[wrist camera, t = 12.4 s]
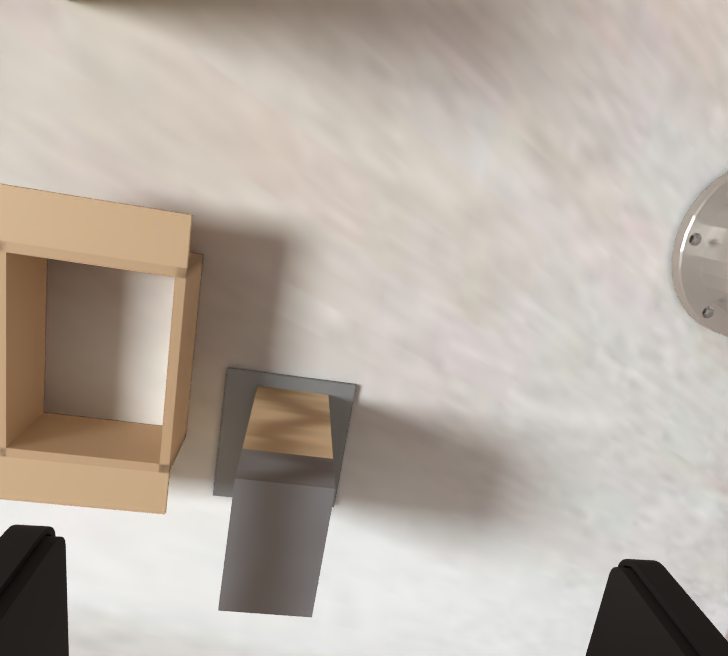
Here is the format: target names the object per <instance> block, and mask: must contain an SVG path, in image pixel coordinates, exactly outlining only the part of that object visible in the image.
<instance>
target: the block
mask: <svg viewBox="0 0 728 656" xmlns="http://www.w3.org/2000/svg"><path fill="white" fill-rule="evenodd" d="M334 493H335V479H334V465H333V451H332V437H331V423H330V410H329V396H328V394H320V393H312V392H305V391H297V390H289V389H281V388H273V387H265V386H257V390H256V394H255V398H254V403H253V407H252V411H251V415H250V419H249V423H248V427H247V431H246V436H245V440H244V444H243V448H242V452H241V456H240V460H239V464H238V469H237V473H236V477H235V483H234V491H233V499H232V507H231V515H230V522H229V530H228V538H227V546H226V554H225V561H224V569H223V577H222V585H221V593H220V601H219V608H218V610H219V611H233V612H247V613H260V614H274V615H288V616H302V617H312V613H313V607H314V602H315V597H316V591H317V586H318V580H319V575H320V569H321V564H322V558H323V553H324V547H325V542H326V536H327V531H328V526H329V520H330V515H331V509H332V504H333V498H334Z"/></svg>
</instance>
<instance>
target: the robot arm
mask: <svg viewBox="0 0 728 656" xmlns="http://www.w3.org/2000/svg"><path fill="white" fill-rule="evenodd" d="M672 277H673V282H674V288H675V291H676V293H677V296H678V298H679V300H680V303H681V304H682V306H683V307H684V309H685V310H686V311H687V313H688V314H689V315H690V316H691V317H692V318H693V319H694V320H696V321H697V322H698V323H699V324H700V325H702V326H704V327H706V328H708V329H710V330H712V331H714V332H717V333H720V334H722V335H725V336H728V172H727V173H725V174H724V175H722V176H721V177H719V178H718V179H716V180H715V181H714V182H713V183H712V184H711V185H710V186H709V187H707V188H706V189H705V190H704V191H703V192H702V193H701V195H700V196H699V197H698V198H697V200H696V201H695V202H694V203H693V205H692V206H691V207H690V209H689V211H688V213H687V214H686V216H685V218H684V220H683V221H682V223H681V226H680V228H679V231H678V234H677V237H676V239H675V244H674V249H673V254H672ZM0 656H69V646H68V611H67V577H66V545H65V540H64V538H63V537H56V536H55V531H54V529H53V528H52V527H49V526H31V525H13V526H11V527H9V528H8V529H7V530H6V531H5V532H4V534H3V535H2V536H1V537H0ZM586 656H728V642H727V640H726V639H725V638H724V637H723V636H722V634H721V633H720V632H719V631H718V630H717V628H716V627H715V626H714V625H713V624H712V623H711V621H710V620H709V619H708V618H707V617H706V615H705V614H704V613H703V612H702V611H701V610H700V608H699V607H698V606H697V605H696V604H695V603H694V601H693V600H692V599H691V598H690V597H689V595H688V594H687V593H686V592H685V591H684V590H683V588H682V587H681V586H680V585H679V584H678V582H677V581H676V580H675V579H674V578H673V577H672V575H671V574H670V573H669V572H668V571H667V570H666V568H665V567H664V566H663V565H662V564H661V563H659V562H657V561H654V560H636V559H624V560H622V561H621V562H620V563H619V565H618V567H614V568H613V569H612V570H611V572H610V574H609V577H608V581H607V584H606V588H605V591H604V594H603V598H602V601H601V605H600V608H599V612H598V615H597V618H596V622H595V625H594V629H593V632H592V636H591V639H590V642H589V646H588V649H587V653H586Z"/></svg>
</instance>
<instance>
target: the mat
mask: <svg viewBox="0 0 728 656" xmlns="http://www.w3.org/2000/svg"><path fill="white" fill-rule="evenodd" d="M257 386H265V387H273V388H281V389H289V390H297V391H305V392H312V393H320V394H328V396H329V410H330V423H331V437H332V451H333V465H334V479H335V493H334V498H333V504H332V507H334V503H335V498H336V492H337V487H338V481H339V476H340V470H341V465H342V459H343V454H344V448H345V443H346V437H347V432H348V426H349V421H350V415H351V410H352V404H353V399H354V393H355V387H356V384H351V383H344V382H336V381H328V380H320V379H312V378H305V377H297V376H289V375H281V374H273V373H266V372H258V371H250V370H242V369H234V368H228V369H227V378H226V386H225V395H224V404H223V413H222V421H221V430H220V439H219V448H218V456H217V465H216V474H215V483H214V491H213V495H215V496H225V497H233V491H234V483H235V477H236V473H237V469H238V464H239V460H240V456H241V452H242V448H243V444H244V440H245V436H246V431H247V427H248V423H249V419H250V415H251V411H252V407H253V403H254V398H255V394H256V390H257Z"/></svg>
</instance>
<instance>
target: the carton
mask: <svg viewBox="0 0 728 656" xmlns="http://www.w3.org/2000/svg"><path fill="white" fill-rule="evenodd" d="M192 216H193V215H190V214H184V213H178V212H172V211H165V210H159V209H153V208H147V207H141V206H135V205H129V204H122V203H116V202H110V201H104V200H98V199H92V198H86V197H79V196H73V195H67V194H61V193H55V192H49V191H43V190H37V189H30V188H24V187H18V186H12V185H6V184H0V499H4V500H15V501H26V502H37V503H48V504H59V505H69V506H80V507H91V508H102V509H113V510H124V511H134V512H145V513H156V514H165V513H166V507H167V496H168V485H169V474H170V469H171V467H172V465H173V463H174V461H175V458H176V456H177V454H178V452H179V450H180V448H181V445H182V443H183V441H184V439H185V437H186V428H187V418H188V407H189V397H190V386H191V376H192V366H193V355H194V345H195V334H196V324H197V314H198V303H199V293H200V282H201V272H202V261H203V254H196V253H190V252H189V250H190V238H191V227H192ZM47 258H49V259H55V260H62V261H69V262H76V263H83V264H89V265H96V266H103V267H110V268H116V269H123V270H130V271H137V272H143V273H150V274H157V275H164V276H171V277H175V284H174V296H173V308H172V320H171V332H170V344H169V356H168V368H167V380H166V392H165V404H164V416H163V426H159V425H150V424H141V423H133V422H124V421H115V420H106V419H97V418H88V417H79V416H70V415H62V414H53V413H44V384H45V335H46V286H47Z"/></svg>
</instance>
